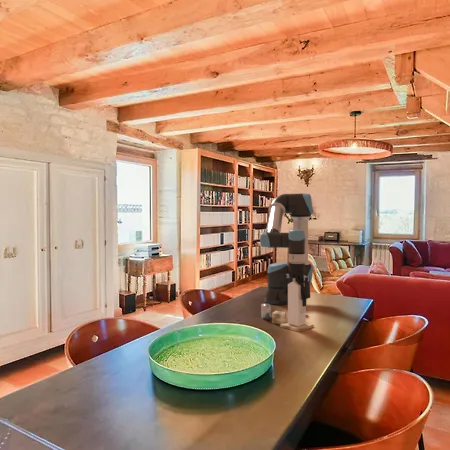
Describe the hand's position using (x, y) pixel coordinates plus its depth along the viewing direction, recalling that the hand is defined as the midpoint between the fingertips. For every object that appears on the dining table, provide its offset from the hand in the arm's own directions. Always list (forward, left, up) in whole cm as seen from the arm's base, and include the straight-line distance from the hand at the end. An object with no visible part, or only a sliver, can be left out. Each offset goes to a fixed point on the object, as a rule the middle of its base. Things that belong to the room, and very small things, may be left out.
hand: (296, 311), depth 175 cm
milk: (0, 0, -6) cm, 6 cm away
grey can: (-19, 0, -7) cm, 21 cm away
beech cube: (-10, -1, -7) cm, 13 cm away
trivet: (0, 0, -7) cm, 7 cm away
